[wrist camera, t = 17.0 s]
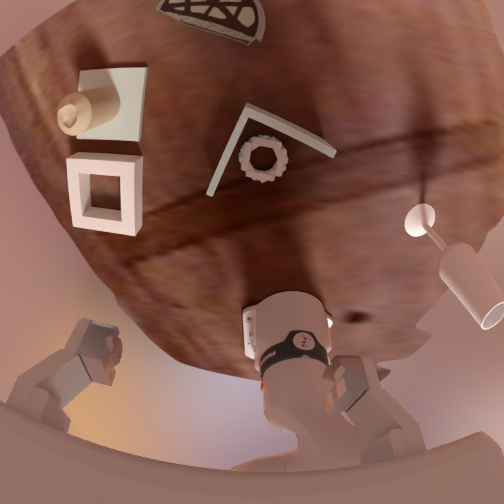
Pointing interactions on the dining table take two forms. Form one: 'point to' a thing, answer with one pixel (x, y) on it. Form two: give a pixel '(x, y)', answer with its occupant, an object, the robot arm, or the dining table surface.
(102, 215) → the pocket block
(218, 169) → the l-shaped corner panel
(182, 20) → the food container
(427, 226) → the champagne flute
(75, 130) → the candle
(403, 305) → the dining table surface
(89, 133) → the cream tile
